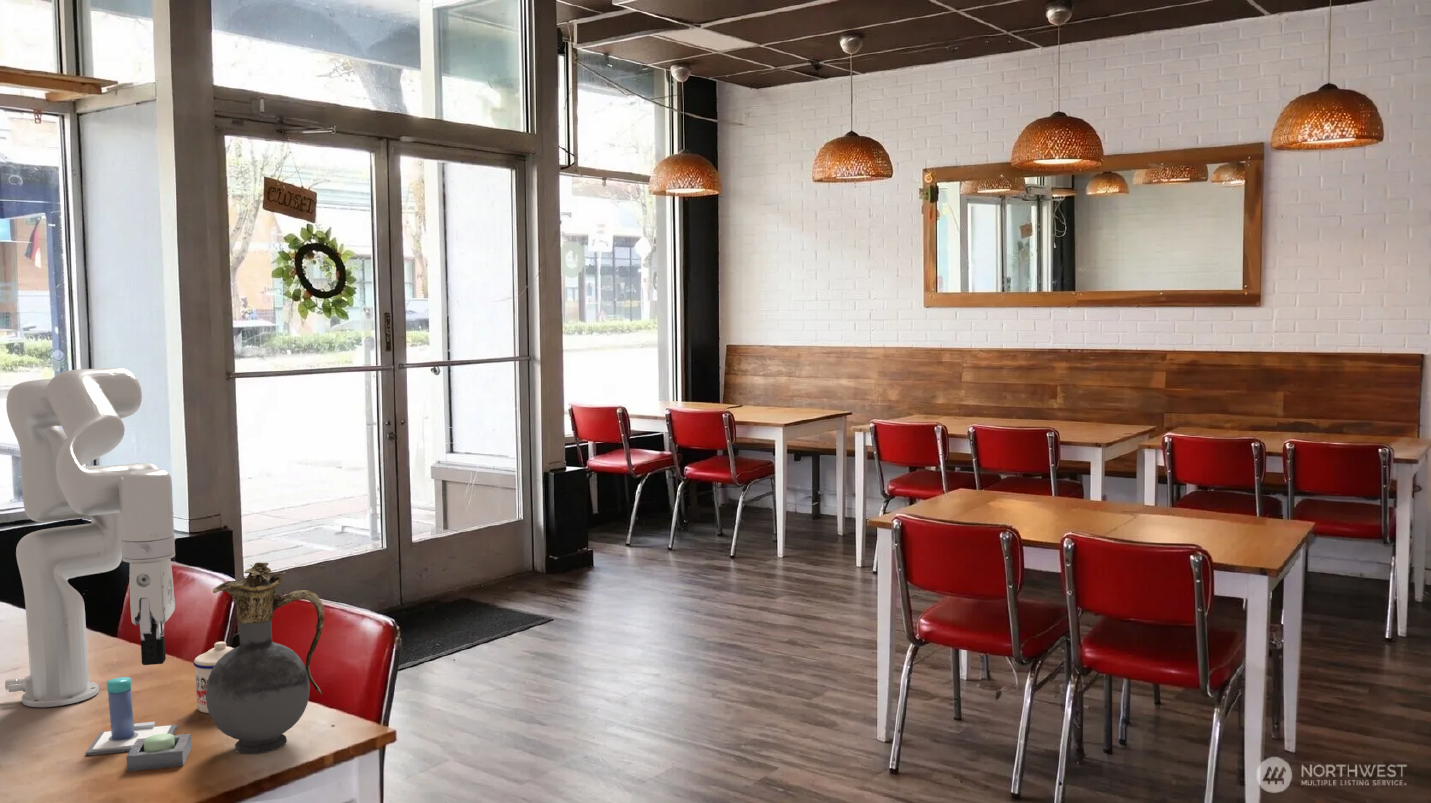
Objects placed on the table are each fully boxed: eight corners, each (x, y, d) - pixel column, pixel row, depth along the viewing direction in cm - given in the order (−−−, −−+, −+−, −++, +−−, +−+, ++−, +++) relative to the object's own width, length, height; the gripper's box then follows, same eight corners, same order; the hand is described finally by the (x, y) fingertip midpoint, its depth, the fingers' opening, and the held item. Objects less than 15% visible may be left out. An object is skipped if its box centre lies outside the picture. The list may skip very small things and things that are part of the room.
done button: (142, 763, 188) (141, 744, 188) (147, 753, 192) (146, 735, 192) (172, 760, 189) (171, 741, 189) (177, 750, 193) (176, 732, 193)
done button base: (127, 771, 186) (126, 756, 185) (138, 753, 193) (137, 739, 193) (183, 765, 188) (182, 750, 187) (191, 748, 195) (190, 733, 195)
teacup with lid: (185, 708, 215) (182, 644, 214) (232, 695, 223) (229, 633, 222) (222, 721, 208) (219, 655, 207) (269, 706, 215) (266, 643, 214)
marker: (114, 733, 200) (109, 678, 200) (137, 731, 201) (133, 676, 200) (108, 741, 197) (104, 685, 196) (132, 739, 198) (127, 682, 197)
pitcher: (201, 748, 195) (192, 566, 193) (318, 722, 207) (311, 550, 204) (219, 767, 187) (209, 577, 184) (340, 739, 198) (332, 560, 196)
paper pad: (85, 755, 193) (85, 748, 193) (100, 734, 203) (100, 727, 202) (166, 747, 196) (166, 739, 196) (177, 726, 206) (177, 719, 205)
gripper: (165, 557, 182) (171, 675, 183) (182, 538, 196) (187, 647, 198) (111, 560, 180) (117, 679, 181) (132, 540, 194) (137, 651, 196)
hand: (153, 662), depth 190 cm, fingers closed
